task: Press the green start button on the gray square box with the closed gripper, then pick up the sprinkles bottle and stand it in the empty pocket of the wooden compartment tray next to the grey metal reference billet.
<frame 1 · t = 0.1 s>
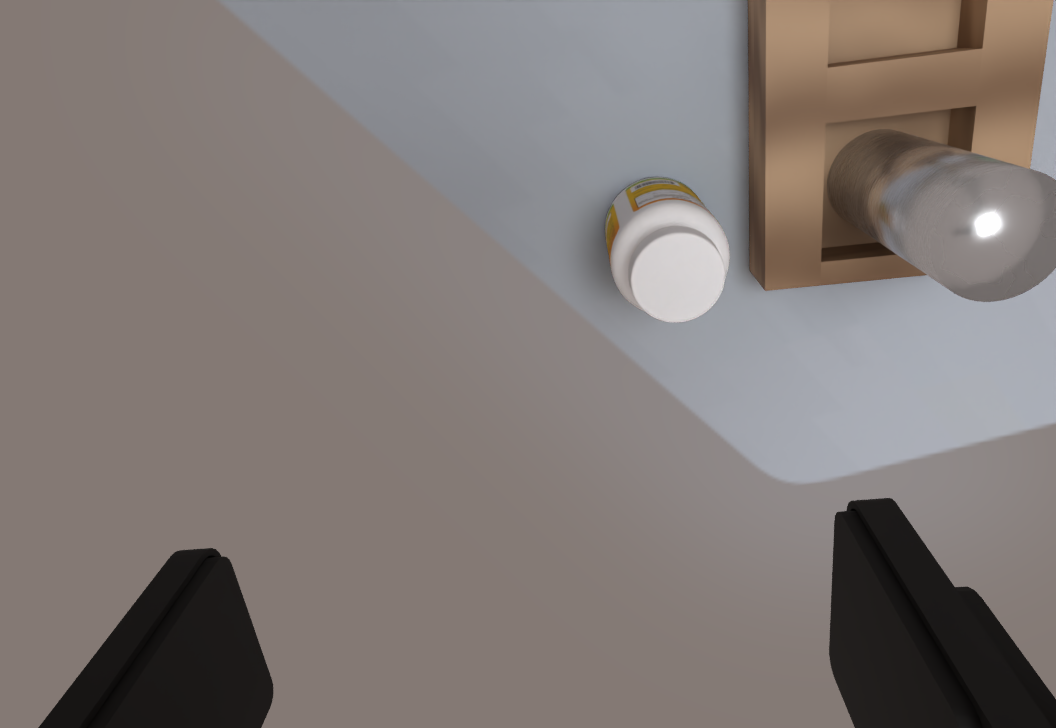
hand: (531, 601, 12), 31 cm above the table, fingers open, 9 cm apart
supplement bottle: (654, 225, 41), on the table
reference billet: (876, 178, 38), resting on wooden compartment tray
wooden compartment tray: (872, 82, 37), on the table
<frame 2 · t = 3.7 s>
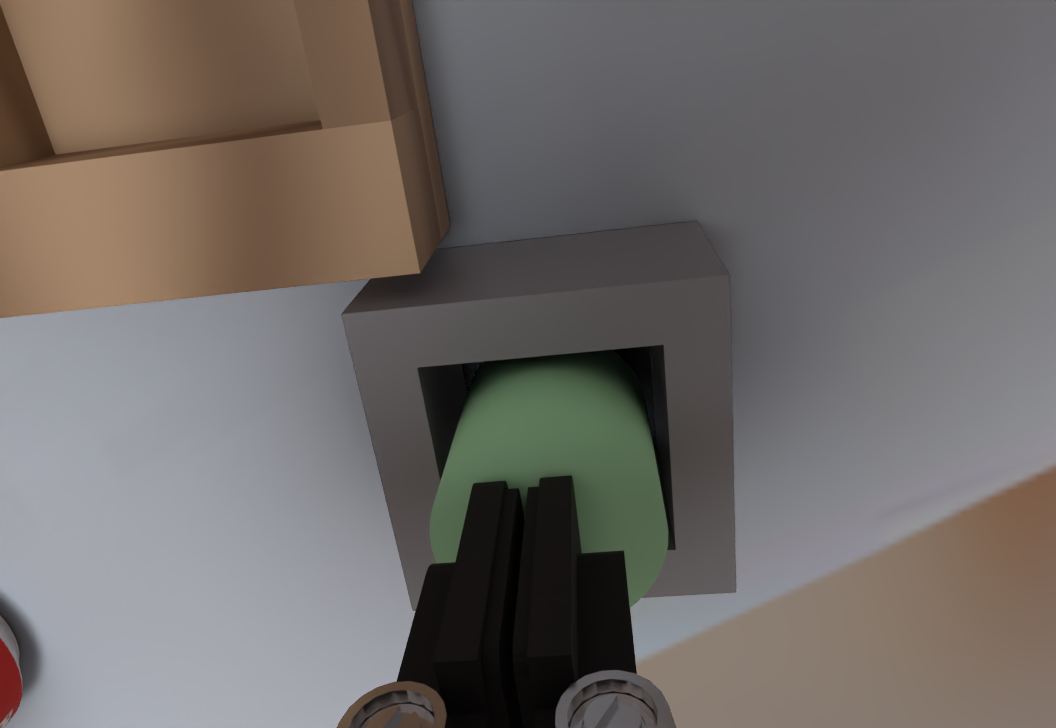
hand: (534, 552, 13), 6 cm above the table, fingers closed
gray square box: (557, 377, 18), on the table
start button: (551, 469, 15), point 4 cm above the table, slide at 1.1 cm, touching gripper
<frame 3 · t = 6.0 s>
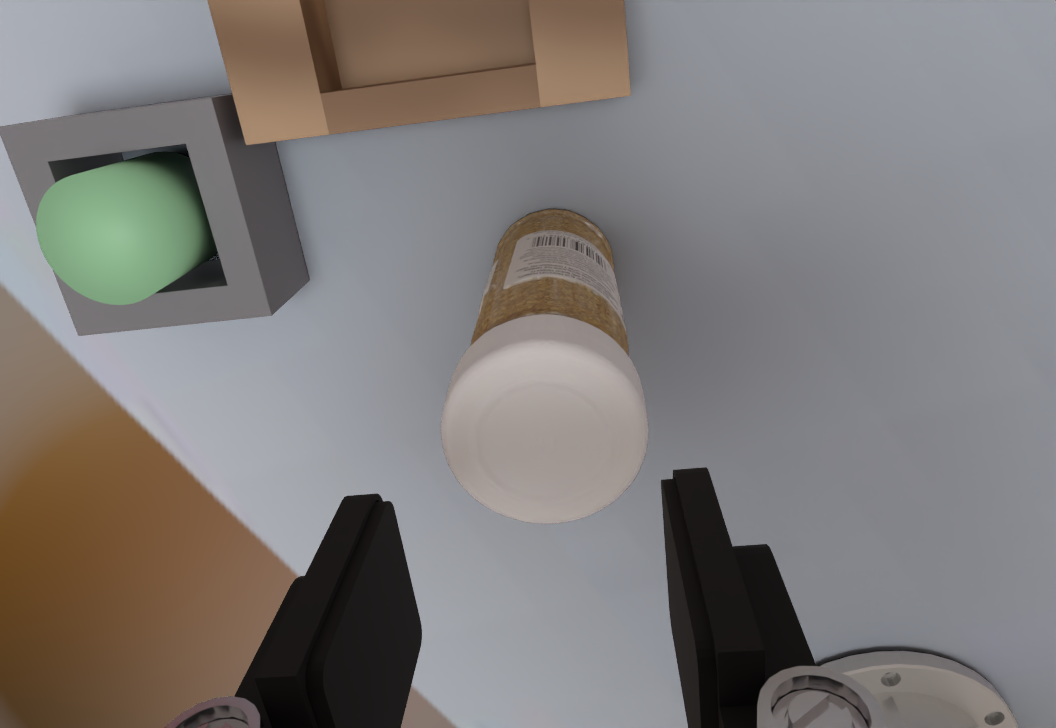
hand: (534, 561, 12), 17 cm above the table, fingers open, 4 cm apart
gray square box: (196, 200, 28), on the table
start button: (141, 224, 24), point 4 cm above the table, slide at 1.4 cm
sprinkles bottle: (555, 264, 28), on the table
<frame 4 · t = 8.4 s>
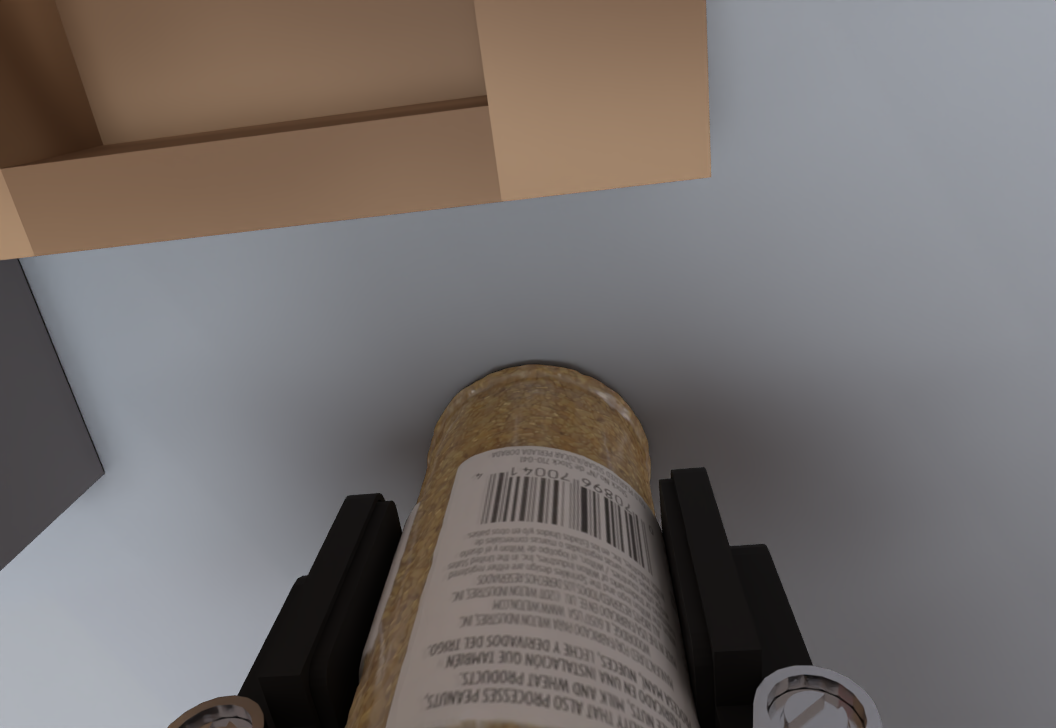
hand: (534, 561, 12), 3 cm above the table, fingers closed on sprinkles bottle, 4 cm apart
sprinkles bottle: (542, 452, 16), on the table, touching gripper
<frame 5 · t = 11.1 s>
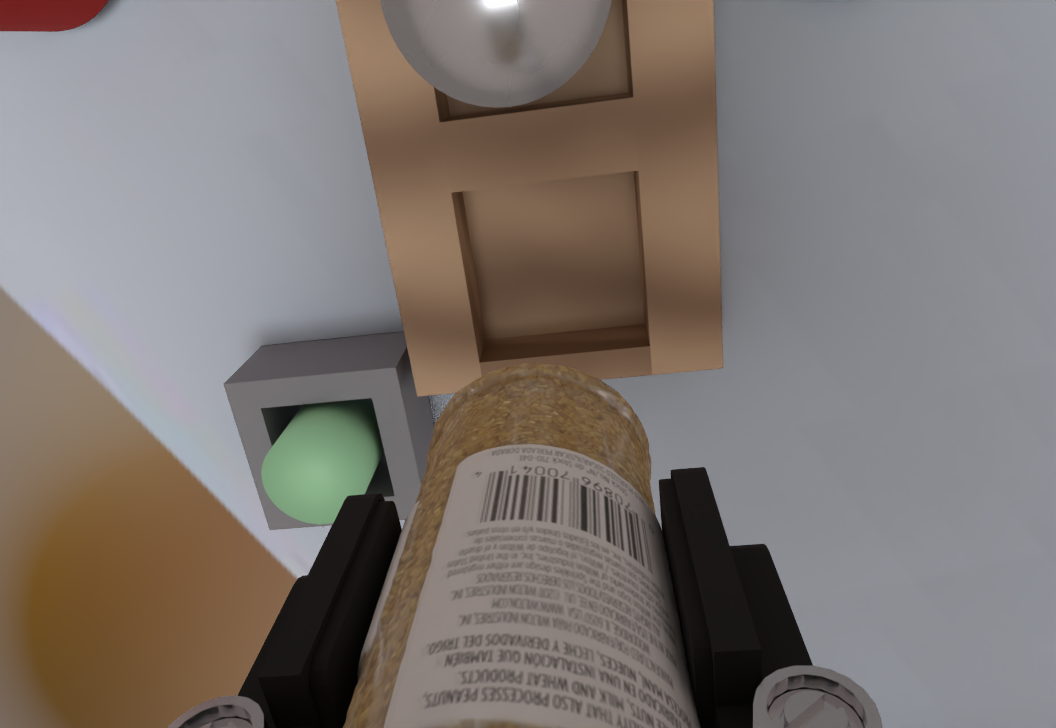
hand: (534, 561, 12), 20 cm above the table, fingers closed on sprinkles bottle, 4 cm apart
gray square box: (354, 408, 34), on the table
start button: (329, 451, 31), point 4 cm above the table, slide at 1.4 cm
sprinkles bottle: (542, 451, 16), point 17 cm above the table, touching gripper
reference billet: (526, 5, 26), resting on wooden compartment tray
wooden compartment tray: (543, 134, 29), on the table
when the fingers open (6 cm above the table, at t = 13.9 s): sprinkles bottle drops 1 cm, resting on wooden compartment tray.
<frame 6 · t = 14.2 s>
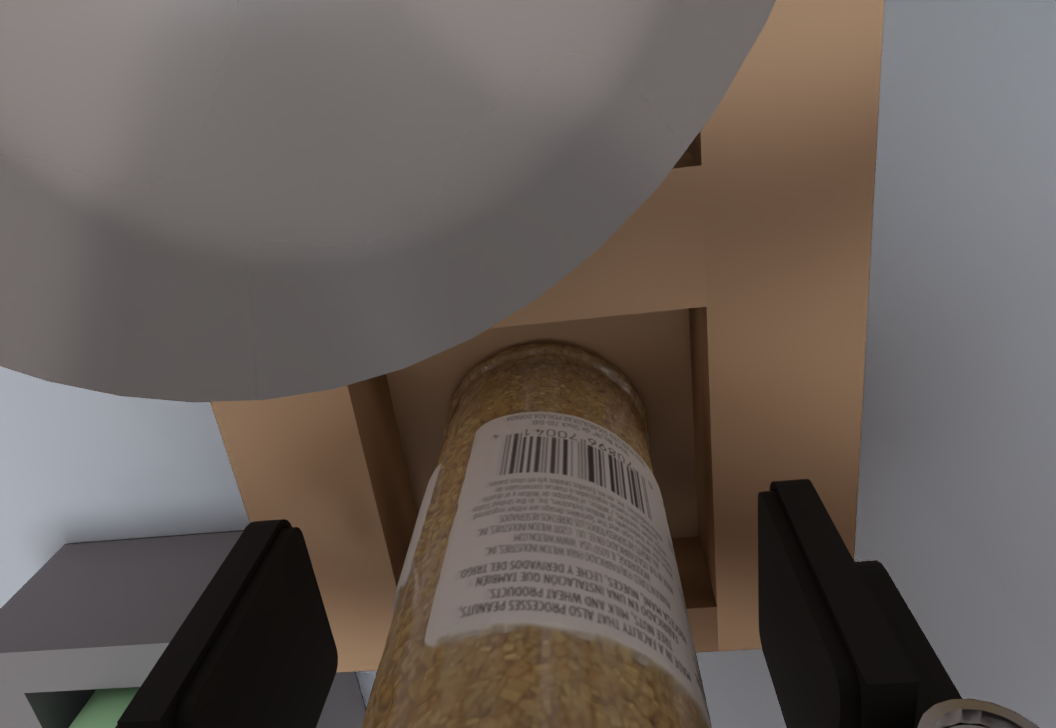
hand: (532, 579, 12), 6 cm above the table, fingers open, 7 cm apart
gray square box: (223, 636, 21), on the table
sprinkles bottle: (549, 425, 17), point 1 cm above the table, touching wooden compartment tray
wooden compartment tray: (521, 214, 16), on the table
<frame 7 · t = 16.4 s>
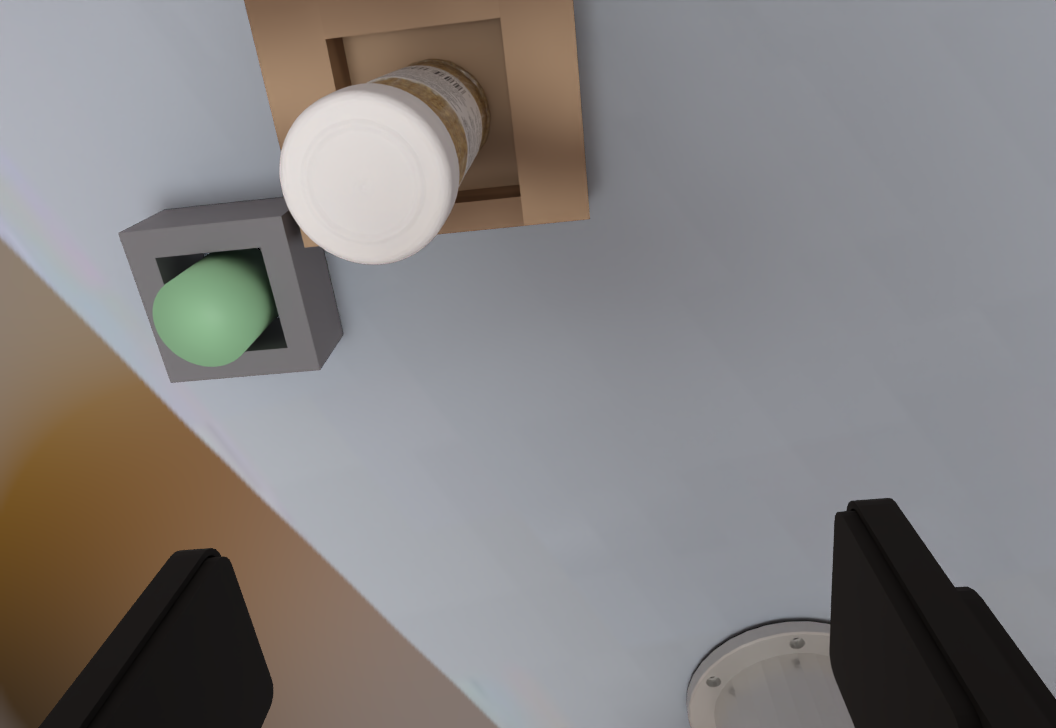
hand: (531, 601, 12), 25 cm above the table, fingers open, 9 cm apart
gray square box: (256, 274, 36), on the table
start button: (223, 303, 32), point 4 cm above the table, slide at 1.4 cm
sprinkles bottle: (439, 115, 32), point 1 cm above the table, touching wooden compartment tray
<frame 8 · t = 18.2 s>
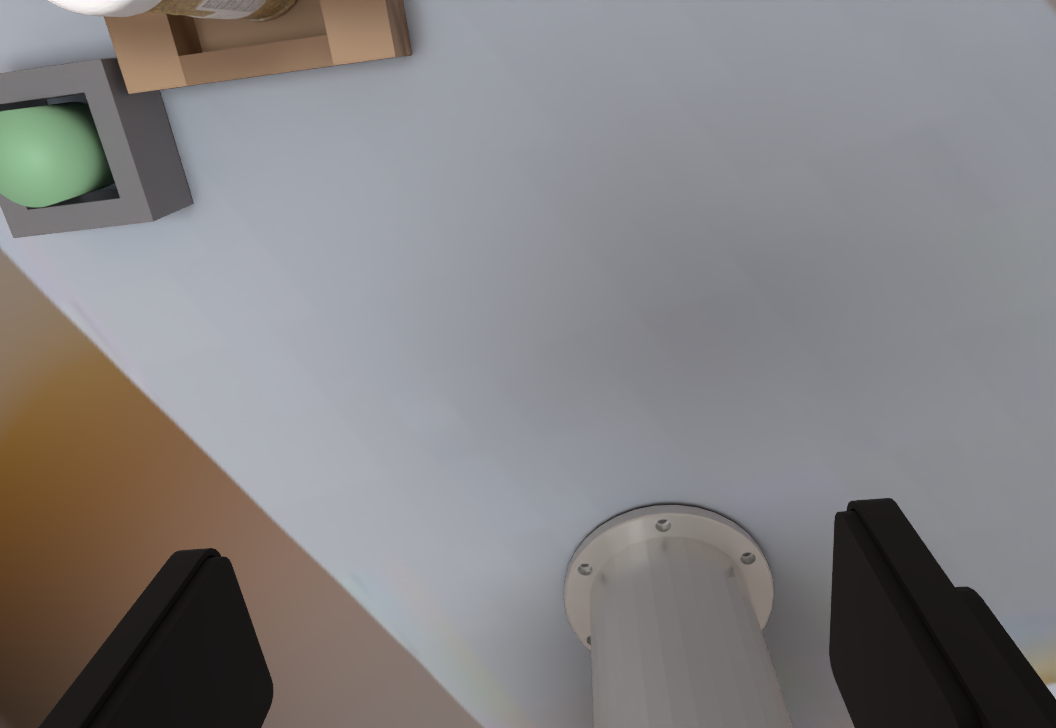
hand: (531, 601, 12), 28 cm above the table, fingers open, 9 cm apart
gray square box: (105, 141, 37), on the table
start button: (56, 152, 34), point 4 cm above the table, slide at 1.4 cm
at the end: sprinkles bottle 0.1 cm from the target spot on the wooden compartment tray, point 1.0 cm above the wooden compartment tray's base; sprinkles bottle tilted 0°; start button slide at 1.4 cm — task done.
